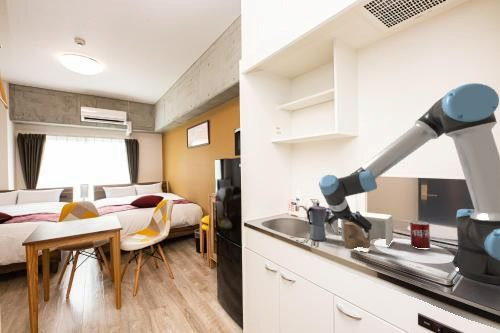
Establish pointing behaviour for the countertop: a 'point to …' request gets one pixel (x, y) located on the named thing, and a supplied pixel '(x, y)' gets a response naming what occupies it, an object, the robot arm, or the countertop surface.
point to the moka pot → (317, 222)
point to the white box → (376, 226)
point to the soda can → (420, 234)
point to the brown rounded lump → (355, 236)
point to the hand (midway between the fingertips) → (350, 232)
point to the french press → (329, 229)
